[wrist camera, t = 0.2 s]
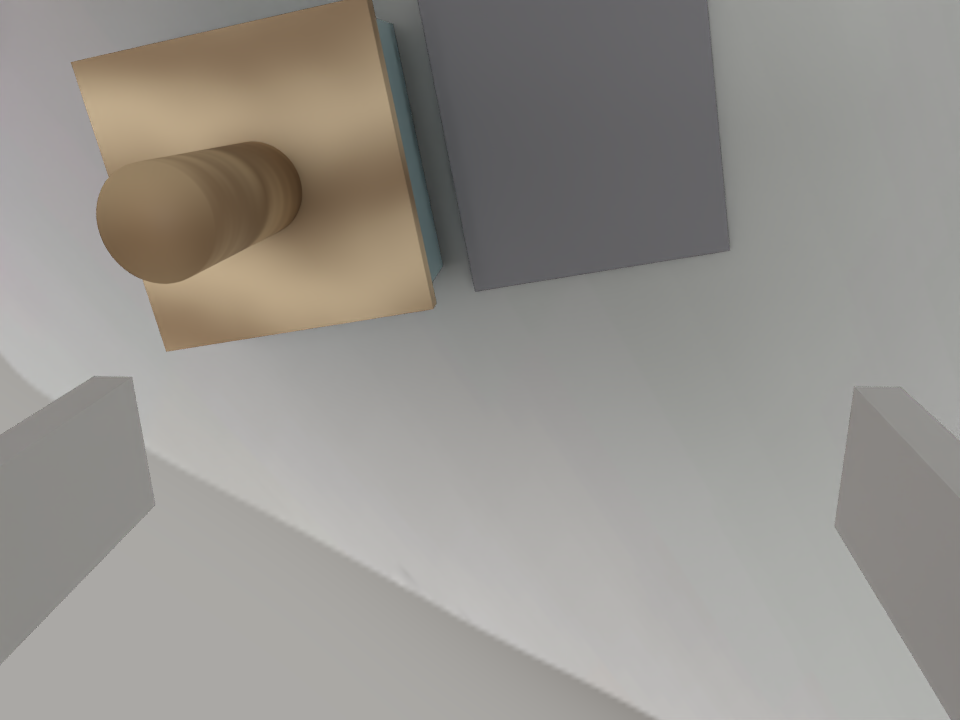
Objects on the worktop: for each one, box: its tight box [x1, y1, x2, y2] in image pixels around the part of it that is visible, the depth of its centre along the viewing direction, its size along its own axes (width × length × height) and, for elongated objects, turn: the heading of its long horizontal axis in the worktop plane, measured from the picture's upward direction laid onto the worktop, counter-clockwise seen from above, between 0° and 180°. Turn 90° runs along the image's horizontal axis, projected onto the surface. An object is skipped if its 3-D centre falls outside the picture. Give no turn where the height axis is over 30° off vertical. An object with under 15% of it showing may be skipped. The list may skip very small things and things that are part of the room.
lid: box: [71, 0, 437, 352], centre depth 30 cm, size 13×13×10 cm
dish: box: [376, 18, 443, 282], centre depth 38 cm, size 12×12×6 cm
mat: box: [418, 0, 730, 291], centre depth 38 cm, size 15×13×1 cm
